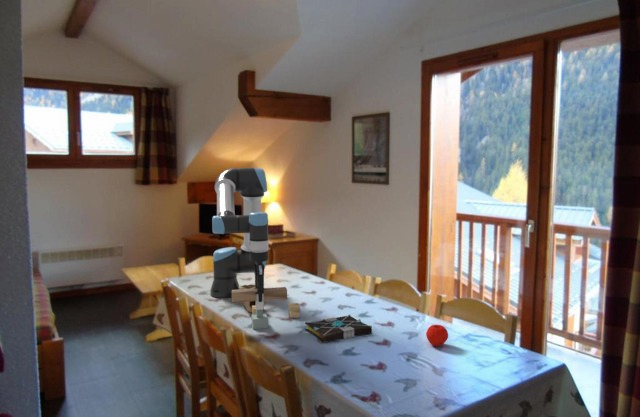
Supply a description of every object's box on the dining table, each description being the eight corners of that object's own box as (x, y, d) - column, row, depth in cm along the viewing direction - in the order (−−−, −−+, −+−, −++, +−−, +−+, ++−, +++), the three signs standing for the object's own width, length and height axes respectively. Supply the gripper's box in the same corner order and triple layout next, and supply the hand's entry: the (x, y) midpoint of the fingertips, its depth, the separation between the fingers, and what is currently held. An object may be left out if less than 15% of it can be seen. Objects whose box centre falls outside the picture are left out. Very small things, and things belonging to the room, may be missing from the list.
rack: (252, 317, 206) (252, 305, 206) (297, 313, 211) (297, 302, 210) (253, 320, 201) (253, 309, 201) (299, 317, 206) (299, 306, 205)
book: (323, 344, 176) (323, 331, 175) (303, 330, 191) (303, 318, 190) (372, 334, 186) (372, 322, 185) (350, 322, 201) (350, 310, 200)
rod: (231, 299, 193) (231, 290, 193) (285, 296, 198) (285, 286, 198) (232, 302, 189) (232, 292, 189) (287, 299, 194) (287, 289, 194)
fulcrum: (251, 324, 197) (251, 305, 196) (266, 323, 198) (266, 304, 197) (253, 329, 191) (252, 309, 190) (268, 328, 192) (267, 308, 192)
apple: (444, 350, 169) (444, 330, 168) (422, 346, 173) (423, 326, 172) (450, 343, 176) (451, 324, 175) (429, 339, 180) (430, 320, 179)
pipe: (246, 315, 209) (245, 293, 208) (236, 305, 223) (235, 284, 222) (265, 312, 212) (265, 290, 212) (254, 303, 227) (254, 282, 226)
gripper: (247, 247, 199) (248, 302, 201) (251, 254, 183) (252, 314, 185) (265, 246, 201) (266, 301, 203) (270, 254, 184) (271, 313, 186)
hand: (259, 307), depth 194 cm, fingers closed on rod, 4 cm apart
